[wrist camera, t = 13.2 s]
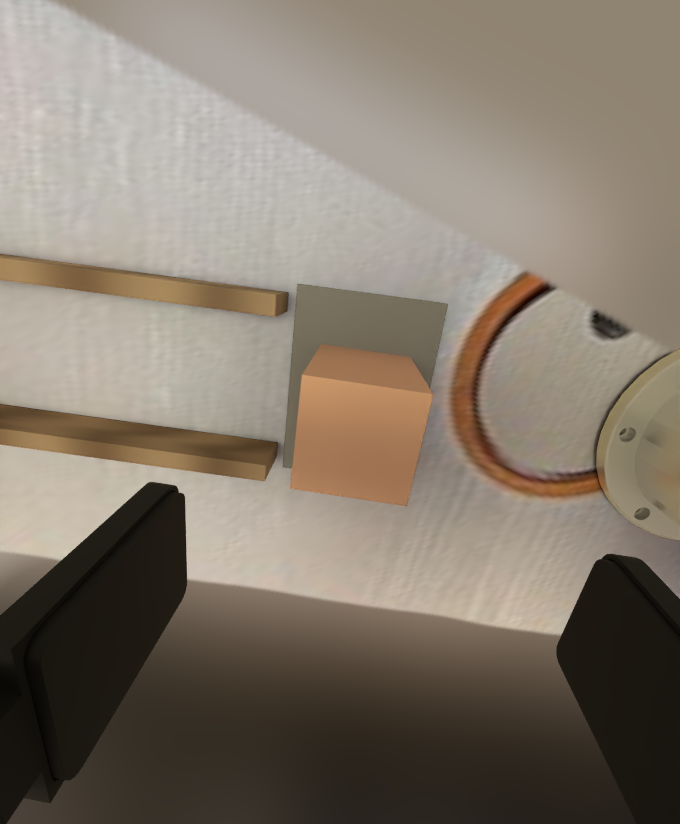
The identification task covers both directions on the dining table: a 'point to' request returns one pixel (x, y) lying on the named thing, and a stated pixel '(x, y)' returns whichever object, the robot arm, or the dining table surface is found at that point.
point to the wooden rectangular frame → (130, 437)
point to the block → (360, 425)
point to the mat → (359, 334)
